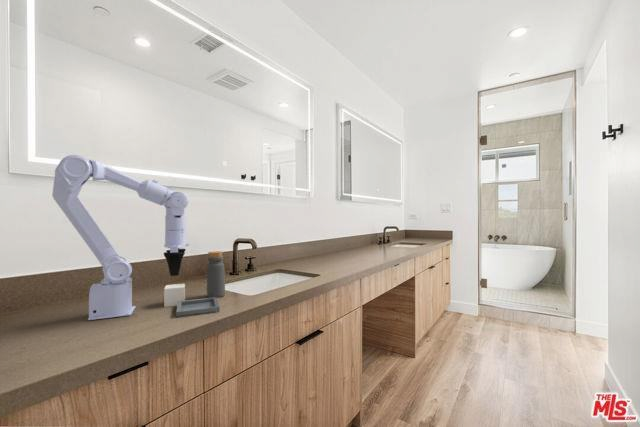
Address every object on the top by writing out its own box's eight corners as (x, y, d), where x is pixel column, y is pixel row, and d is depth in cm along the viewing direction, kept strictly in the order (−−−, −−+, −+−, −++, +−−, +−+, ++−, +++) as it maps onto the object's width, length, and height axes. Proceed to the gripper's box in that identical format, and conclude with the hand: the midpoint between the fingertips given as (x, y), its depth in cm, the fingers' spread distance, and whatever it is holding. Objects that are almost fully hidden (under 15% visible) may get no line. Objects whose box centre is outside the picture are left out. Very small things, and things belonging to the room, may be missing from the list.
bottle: (208, 298, 95) (207, 253, 96) (206, 295, 100) (205, 251, 101) (226, 296, 98) (225, 251, 98) (223, 292, 103) (222, 250, 104)
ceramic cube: (164, 307, 87) (164, 289, 87) (165, 302, 92) (165, 285, 92) (184, 305, 89) (184, 287, 89) (184, 300, 94) (184, 283, 94)
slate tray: (176, 317, 78) (176, 312, 78) (178, 306, 88) (178, 301, 88) (219, 311, 82) (219, 306, 82) (216, 301, 92) (216, 297, 92)
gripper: (189, 230, 86) (188, 276, 85) (189, 229, 99) (189, 268, 99) (162, 231, 83) (161, 278, 83) (166, 229, 96) (166, 270, 96)
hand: (175, 273), depth 91 cm, fingers open, 7 cm apart
